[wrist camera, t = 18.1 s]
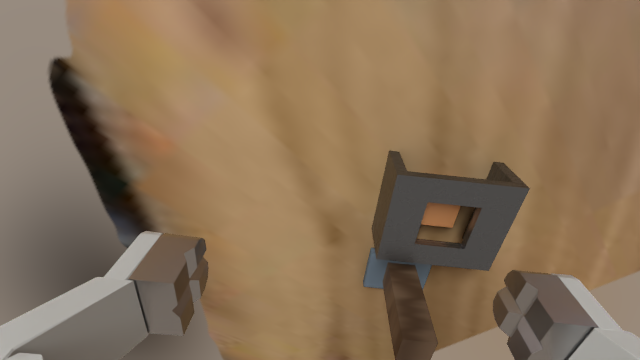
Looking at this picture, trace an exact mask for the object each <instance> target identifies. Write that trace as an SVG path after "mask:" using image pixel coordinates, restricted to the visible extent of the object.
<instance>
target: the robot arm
mask: <svg viewBox="0 0 640 360" xmlns="http://www.w3.org/2000/svg"><path fill="white" fill-rule="evenodd" d="M205 251H206V244H205V240H204V239H203V238H199V237H191V236H184V235H176V234H168V233H165V234H164V233H157V232H149V231H145V232H143V233H141V234H140V235H139V236H138V237H137V238H136V239H135V241H134V242H133V243H132V244H131V245H130V247H129V248H128V249H127V250H126V251H125V253H124V254H123V255H122V256H121V257H120V258H119V260H118V261H117V262H116V263H115V264H114V266H113V267H112V268H111V269H110V270H109V271H108V273H107V274H106V275H105V276H104V277H96V278H94V279H92V280H90V281H88V282H87V283H84V284H82V285H80V286H78V287H76V288H74V289H72V290H71V291H68V292H66V293H64V294H63V295H61V296H59V297H57V298H55V299H53V300H51V301H49V302H47V303H45V304H43V305H41V306H39V307H37V308H35V309H33V310H31V311H29V312H27V313H25V314H23V315H21V316H19V317H17V318H15V319H13V320H11V321H9V322H7V323H5V324H3V325H1V326H0V360H120V359H121V358H122V357H123V356H124V355H126V354H127V353H128V352H129V351H130V350H132V349H133V348H134V347H135V346H136V345H137V344H139V343H140V342H141V341H142V340H143V339H145V338H146V337H147V336H148V333H153V334H167V335H180V336H183V335H184V334H185V331H186V329H187V327H188V325H189V323H190V320H191V318H192V316H193V314H194V306H193V303H194V302H195V301H197V300H198V299H200V298H201V296H202V294H203V292H204V290H205V287H206V282H207V278H208V262H207V261H206V260H205V259H204V257H203V255H204V253H205ZM504 282H505V284H506V287H505V288H503V289H502V290H500V291H498V292H497V294H496V296H495V298H494V300H493V313H494V317H495V320H496V322H497V324H498V327H499V328H500V329H501V330H502V331H503V332H504V333H506V334H507V335H508V336H509V338H508V342H507V345H508V347H509V349H510V351H511V353H512V355H513V357H514V359H515V360H640V338H639V337H637V336H636V335H634V334H632V333H631V332H628V331H623V330H622V329H621V328H620V327H619V325H618V324H617V323H616V322H615V321H614V320H613V319H612V318H611V316H610V315H609V314H608V313H607V312H606V311H605V309H603V307H602V306H601V305H600V304H599V303H598V301H597V300H596V299H595V298H594V297H593V296H592V295H591V293H590V292H589V291H588V290H587V289H586V288H585V286H584V285H583V284H582V283H581V282H580V281H579V280H578V279H577V278H575V277H573V276H572V275H562V274H548V273H538V272H528V271H517V270H512V271H511V272H509V273H508V274H507V276H506V277H505V279H504Z"/></svg>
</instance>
